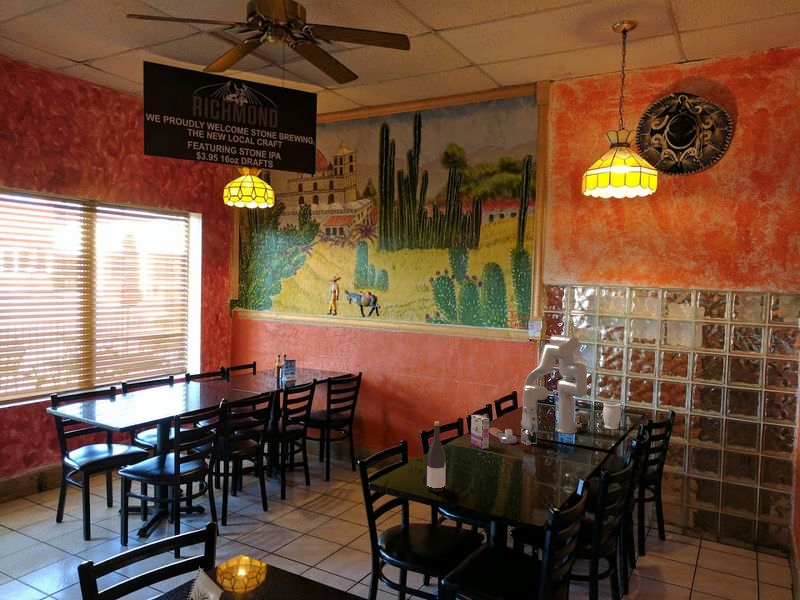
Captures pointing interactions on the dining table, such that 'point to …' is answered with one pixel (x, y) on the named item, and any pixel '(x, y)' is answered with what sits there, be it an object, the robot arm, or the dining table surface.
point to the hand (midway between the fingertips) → (528, 440)
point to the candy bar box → (480, 431)
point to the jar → (611, 415)
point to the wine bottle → (436, 461)
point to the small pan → (504, 435)
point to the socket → (526, 437)
